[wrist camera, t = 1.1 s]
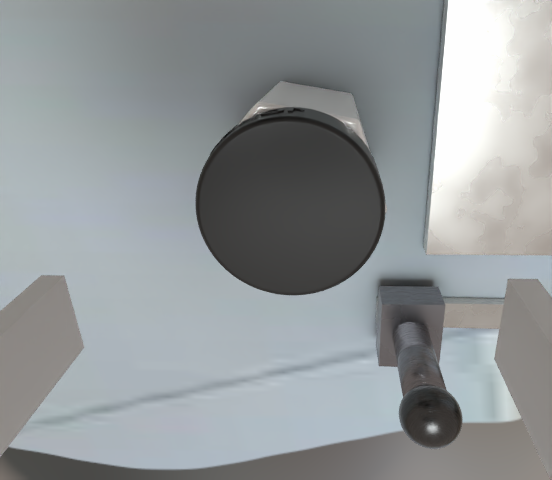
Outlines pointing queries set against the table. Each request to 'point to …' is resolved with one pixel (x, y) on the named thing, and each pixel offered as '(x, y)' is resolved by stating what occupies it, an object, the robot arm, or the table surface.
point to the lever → (417, 362)
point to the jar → (293, 193)
